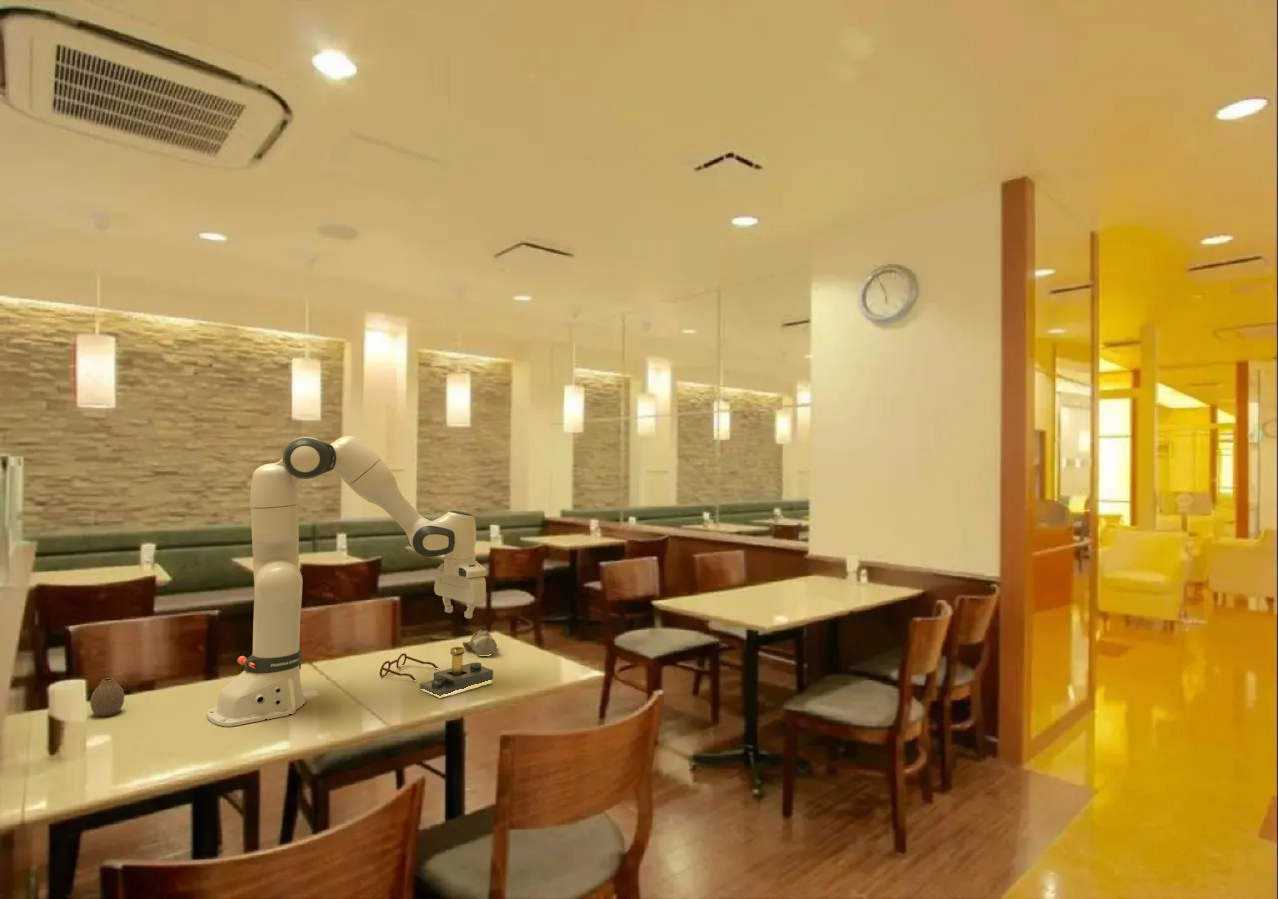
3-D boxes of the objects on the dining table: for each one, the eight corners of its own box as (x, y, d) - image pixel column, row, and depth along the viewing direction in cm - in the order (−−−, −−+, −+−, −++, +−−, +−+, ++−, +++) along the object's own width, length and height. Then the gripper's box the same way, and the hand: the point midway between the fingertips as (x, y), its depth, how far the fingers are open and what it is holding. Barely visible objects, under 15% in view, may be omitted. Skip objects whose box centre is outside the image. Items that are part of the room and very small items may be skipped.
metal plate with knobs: (440, 699, 198) (440, 680, 198) (419, 690, 205) (420, 672, 205) (492, 683, 212) (493, 666, 212) (472, 676, 218) (472, 658, 218)
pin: (454, 690, 205) (455, 651, 205) (446, 686, 208) (447, 648, 208) (466, 686, 208) (467, 648, 208) (458, 683, 211) (459, 646, 211)
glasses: (403, 667, 227) (404, 651, 227) (440, 671, 224) (441, 655, 224) (378, 679, 214) (378, 663, 214) (417, 684, 211) (417, 667, 211)
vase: (84, 720, 178) (85, 684, 178) (97, 710, 184) (98, 675, 184) (117, 718, 180) (117, 682, 180) (128, 708, 186) (129, 674, 186)
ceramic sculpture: (471, 633, 234) (461, 625, 247) (471, 660, 233) (460, 651, 247) (504, 630, 238) (491, 623, 252) (503, 657, 238) (491, 648, 251)
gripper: (429, 563, 212) (428, 610, 212) (471, 573, 199) (470, 623, 199) (447, 561, 217) (446, 607, 217) (490, 570, 204) (489, 619, 204)
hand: (458, 615), depth 208 cm, fingers open, 8 cm apart
